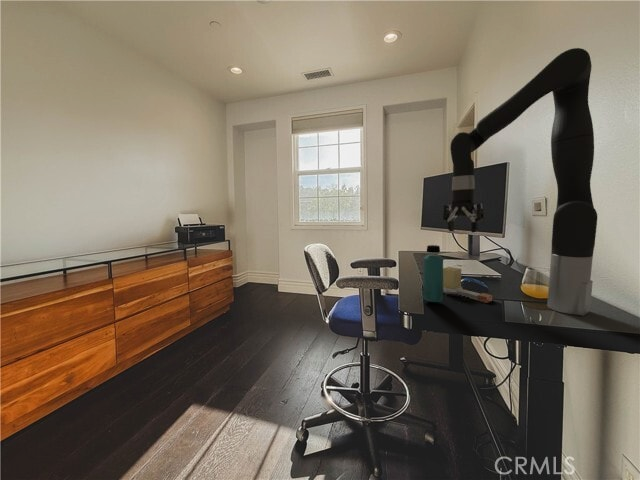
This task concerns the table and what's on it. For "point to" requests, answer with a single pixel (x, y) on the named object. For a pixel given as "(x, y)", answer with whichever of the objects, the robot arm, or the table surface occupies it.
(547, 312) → the table surface
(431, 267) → the beverage bottle
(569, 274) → the robot arm
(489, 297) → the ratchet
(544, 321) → the table surface
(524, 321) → the table surface
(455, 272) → the beige rounded cube
